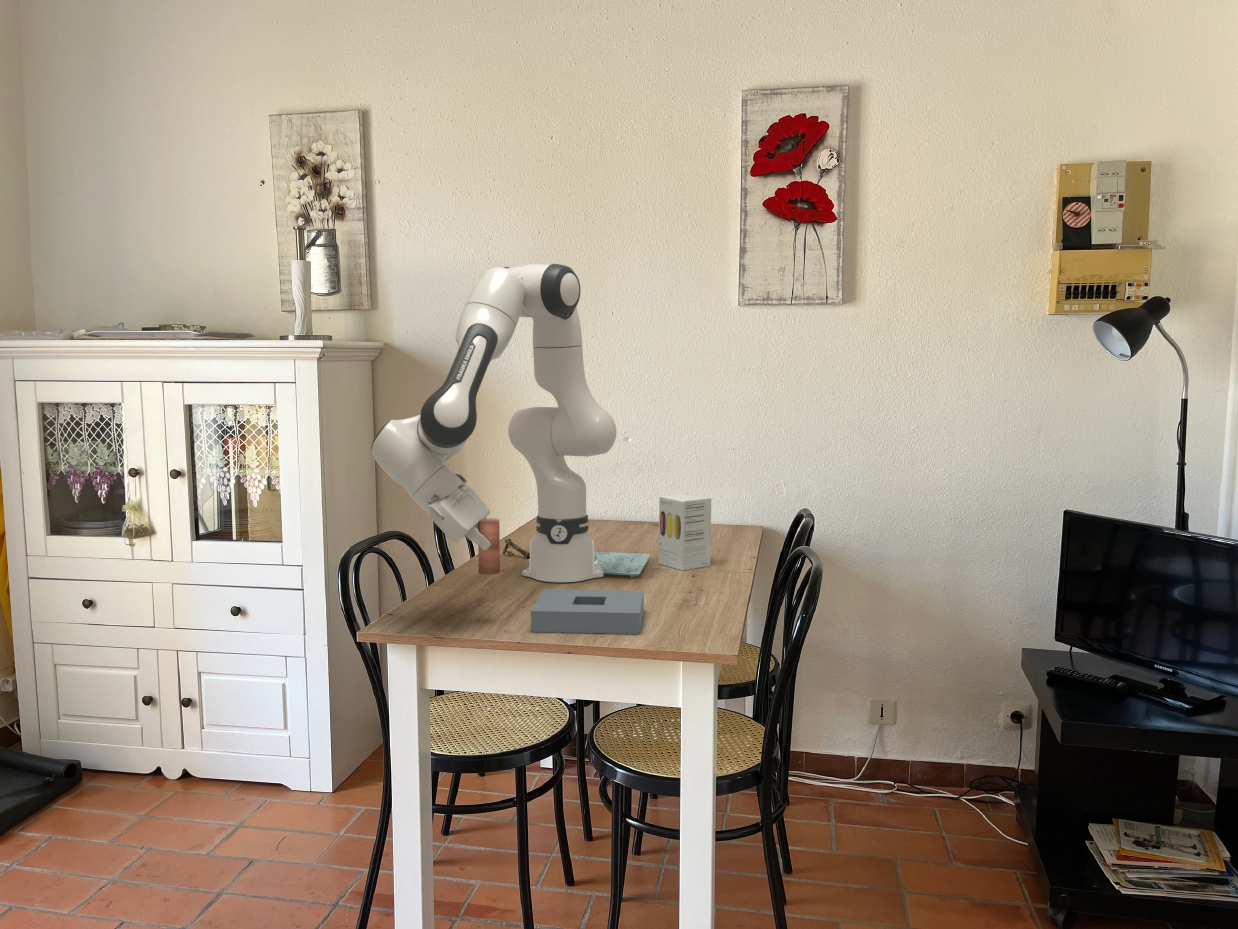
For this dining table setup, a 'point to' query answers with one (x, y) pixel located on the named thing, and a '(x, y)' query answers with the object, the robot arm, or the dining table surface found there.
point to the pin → (491, 556)
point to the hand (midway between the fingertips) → (492, 544)
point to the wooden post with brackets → (516, 547)
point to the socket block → (588, 611)
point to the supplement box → (684, 531)
